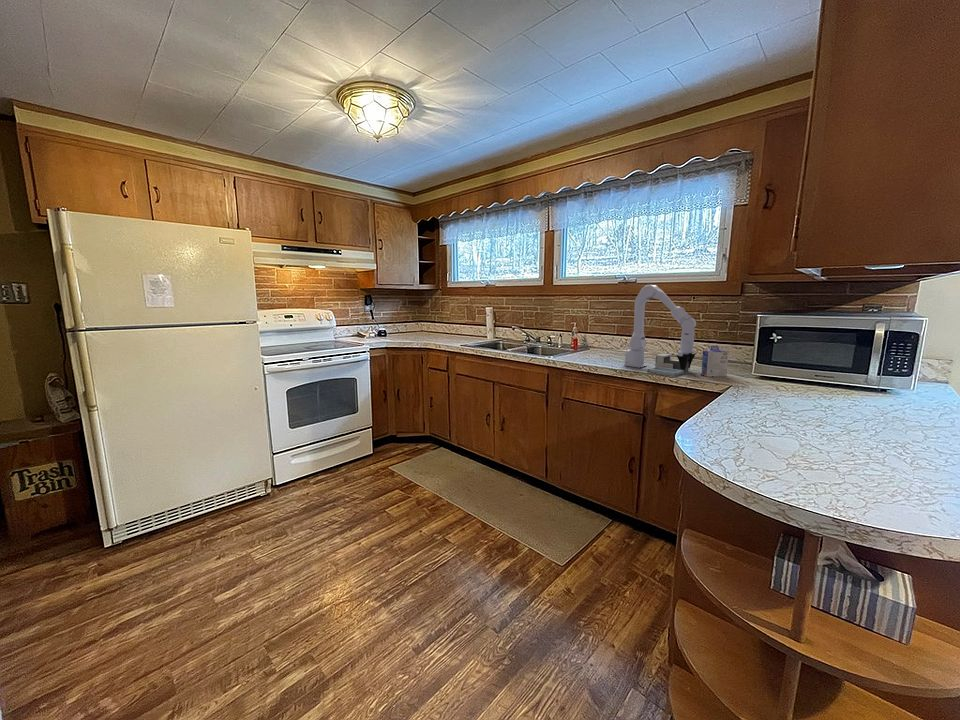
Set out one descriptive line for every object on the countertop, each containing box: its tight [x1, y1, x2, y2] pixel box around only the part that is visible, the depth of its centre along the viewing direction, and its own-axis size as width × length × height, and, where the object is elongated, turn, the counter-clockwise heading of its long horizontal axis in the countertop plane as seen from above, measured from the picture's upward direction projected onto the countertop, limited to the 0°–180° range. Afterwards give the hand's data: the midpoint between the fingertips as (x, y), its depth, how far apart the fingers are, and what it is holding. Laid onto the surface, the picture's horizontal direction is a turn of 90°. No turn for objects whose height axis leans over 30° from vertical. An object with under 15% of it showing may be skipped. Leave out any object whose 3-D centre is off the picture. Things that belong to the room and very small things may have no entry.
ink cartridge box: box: [700, 345, 729, 378], centre depth 187 cm, size 10×6×14 cm, turn 89°
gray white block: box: [668, 358, 690, 373], centre depth 201 cm, size 9×4×5 cm, turn 39°
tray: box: [646, 366, 685, 378], centre depth 194 cm, size 14×9×2 cm, turn 39°
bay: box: [654, 353, 673, 369], centre depth 205 cm, size 9×8×7 cm
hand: (685, 368), depth 198 cm, fingers closed on gray white block, 4 cm apart
